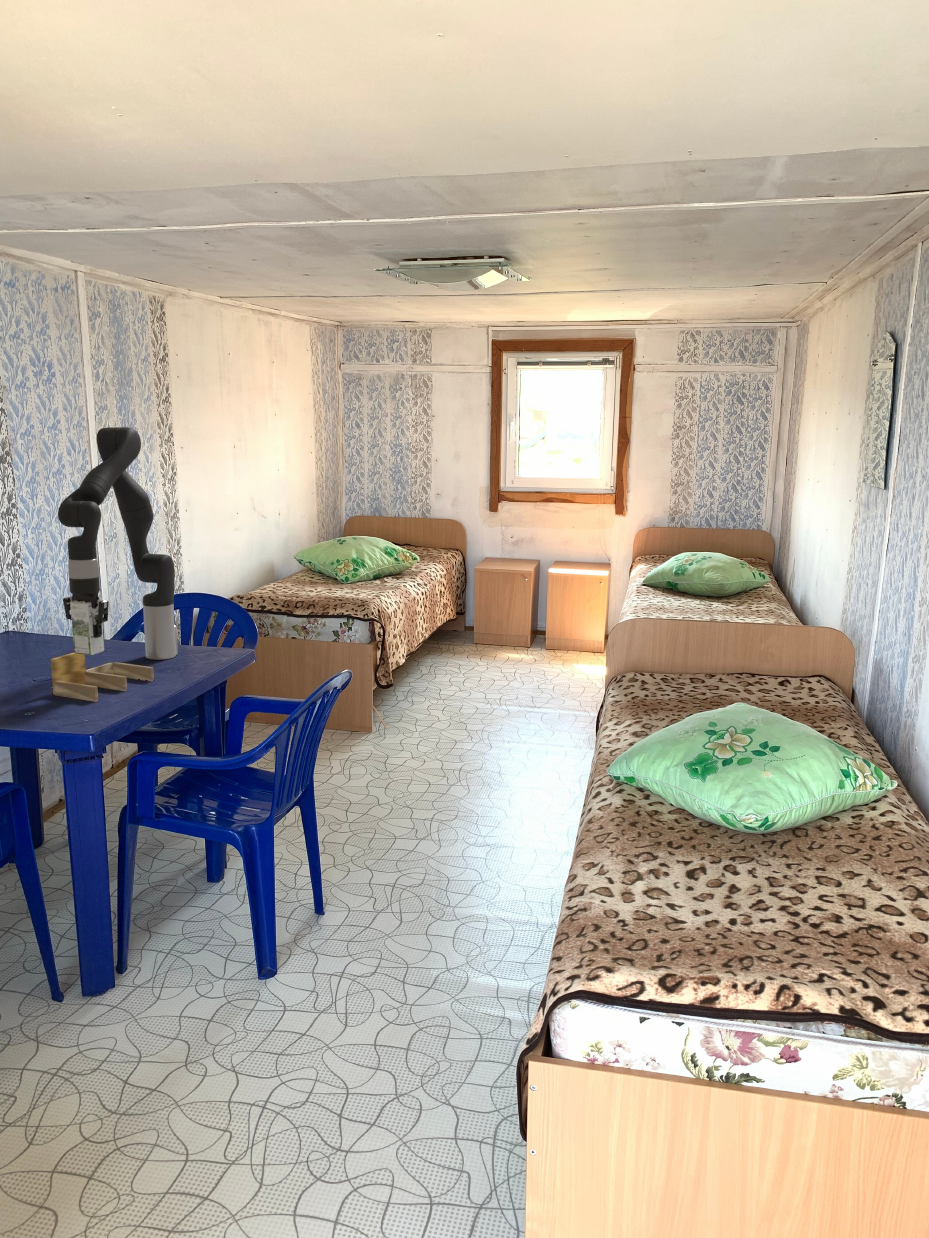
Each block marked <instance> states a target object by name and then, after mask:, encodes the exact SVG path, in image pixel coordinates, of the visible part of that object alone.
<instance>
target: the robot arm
mask: <svg viewBox="0 0 929 1238" xmlns="http://www.w3.org/2000/svg"><path fill="white" fill-rule="evenodd" d="M96 446H97V447H96V448H97V450H98V453H99V456H100V458H101V463H100V464H97V465H96V466H95V467H94V468H92V469H91V470H90V471H89V472H87V474H86V475H85V477H84V478H83V480H82V482H81V484H80V485H79V487H78V488H77V489H75V490H74V491H73V492H71V493H70V494H69V495H68V496H67V497H65V499H64V500H62V502H61V504H60V505H59V507H58V510H57V519H58V520H59V522H60V523H61V525H63V526H65V527H67V528H83V529H82V533H81V535H76V536H72V537H69V538H68V541H67V554H68V555H67V556H68V566H67V567H68V570H67V571H68V582H69V583H68V584H69V585H68V586H69V593H70V594H72V596H65V597H64V598H62V602H63V608H64V612H65V613H64V615H65V618H66V619H67V620H70V621H71V622H72V619H71V607H70V602H73V601H75V602H79V601H83V603H86V602H91V605H92V608H93V609H96V608H97V607H98V608H97V610H98V611H97V612H95V613H92V612H90V613H91V617H92V622H93V624H94V625H93V636H94V638H99V637H101V635H102V628H103V623H106V622H108V620H109V607H110V606H109V605H110V603H109V602H110V601H109V600H107V599H105V600H102V599H100V597H99V592H100V591H101V584H100V571H99V563H98V556H97V555H98V553H97V540H98V533H99V530H100V526H101V522H102V511H101V508H100V505H102V504H103V502H104V501H105V499H106V497H107V496H108V494H109V492H110V490H111V489H112V490H113V492H114V496H115V499H116V503H117V507H118V511H119V513H120V517H121V519H122V522H123V525H124V529H125V532H126V535H127V539H128V543H129V548H130V553H131V558H132V562H133V569H134V571H135V574H136V575H135V576H136V577H137V579H138V580H139V581H140V582H142V583H145V584H146V583H148V584H149V583H150V584H156V589H155V590H154V591H152V592H150V593H147V594H144V595H143V597H142V608H143V609H142V610H143V612H142V613H143V628H144V629H143V630H144V644H145V645H144V646H145V647H144V648H145V658H146V659H149V660H169V659H172V658H174V657H175V658H176V655H178V654H179V651H178V650H179V649H178V632H177V625H175V610H174V608H175V607H174V604H175V603H174V597H175V577H176V576H175V574H176V573H175V563H174V560H173V558H172V556H171V555H168V554H165V553H164V554H161V553H150V551H149V548H148V544H147V543H148V542H147V538H148V536H149V531H150V529H151V528H152V525H153V521H154V515H155V514H154V511H153V507H152V503H151V500H150V497H149V495H148V493H147V492H146V491H145V489H144V488H143V487H142V486H141V485H140V483H138V482H137V480H135V478H133V476H131V475H130V474H129V472H128V471H127V469H128V468H129V467H130V465H132V463H133V462H135V460H136V459H137V457H138V456H139V454H140V452H141V449H142V440H141V436H140V433H139V432H138V430H136V429H135V428H133V427H130V426H129V427H128V426H126V427H125V426H121V427H119V426H117V427H114V426H113V427H102V428H100V429H99V430H98V431H97V433H96ZM95 616H97V620H96V617H95Z"/></svg>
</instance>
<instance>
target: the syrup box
mask: <svg viewBox="0 0 929 1238" xmlns="http://www.w3.org/2000/svg"><path fill="white" fill-rule="evenodd" d="M70 607H71V610H70V614H71V619H72V621H71V629H72V630H71V631H72V642H73V653H76V654H85V656H86V655H87V656H93V655H97V654H100V653H102V652H104V651H105V643H104V631H103V627H102V635H101V637H99V638H94V636H93V625H94V624H93V622H92V617H91V613H90V612H92V613H95V612H97V611H98V610H97V608H98V607H97V608H96V609H93V608H92V605H91V602H86V603H83V601H79V602H75V601H73V602H70ZM95 617H96V620H97V616H95Z"/></svg>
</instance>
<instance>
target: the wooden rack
mask: <svg viewBox="0 0 929 1238" xmlns="http://www.w3.org/2000/svg"><path fill="white" fill-rule="evenodd" d="M50 667H51V669H50V670H51V680H52V681H51V682H52V694H53V695H54V696H56V697H57V696H58V697H63V698H71V699H76V700H82V701H89V702H95V703H96V702H99V691H98V688H103V689H107V690H115V691H121V692H126V691H128V679H132V680H138V679H140V681H145V680H148V681H147V682H154V681H155V677H154V676H155V669H154V667H153V666H148V665H147V666H145V665H139V664H132V663H126V662H125V663H124V662H116V661H115V662H108V663H104V664H101V665H98V666H95V667H92V668H89V669H87V667H86V655H85V654H76V653H74V652H71V653H68V654H67V653H66V654H64V655H59V656H56V657H53V658H50ZM153 680H154V681H153Z"/></svg>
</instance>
